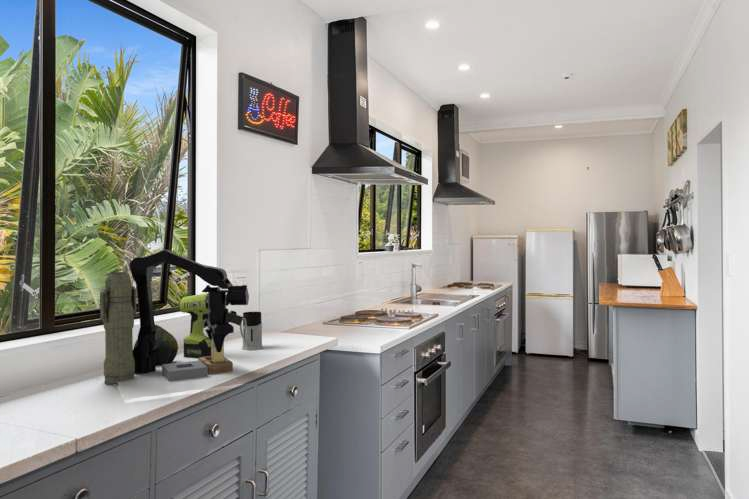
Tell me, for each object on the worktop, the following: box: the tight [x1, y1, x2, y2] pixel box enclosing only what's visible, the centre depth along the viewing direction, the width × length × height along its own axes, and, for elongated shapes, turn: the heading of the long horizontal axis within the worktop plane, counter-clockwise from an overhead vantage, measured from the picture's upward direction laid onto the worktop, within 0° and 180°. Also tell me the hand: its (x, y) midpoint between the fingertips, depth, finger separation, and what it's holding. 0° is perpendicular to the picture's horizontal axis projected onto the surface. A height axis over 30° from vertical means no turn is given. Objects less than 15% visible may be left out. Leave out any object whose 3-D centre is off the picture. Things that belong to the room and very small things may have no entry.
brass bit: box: [211, 338, 225, 364], centre depth 186 cm, size 3×3×10 cm
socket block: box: [161, 359, 209, 382], centre depth 180 cm, size 12×12×4 cm
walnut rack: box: [198, 356, 234, 375], centre depth 189 cm, size 14×8×4 cm, turn 30°
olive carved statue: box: [99, 271, 137, 386], centre depth 175 cm, size 9×12×35 cm
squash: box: [133, 324, 179, 366], centre depth 200 cm, size 14×15×15 cm
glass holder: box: [239, 311, 264, 351], centre depth 227 cm, size 9×14×15 cm, turn 164°
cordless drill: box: [179, 292, 230, 359], centre depth 213 cm, size 23×7×25 cm, turn 70°
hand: (217, 351), depth 186 cm, fingers open, 4 cm apart
